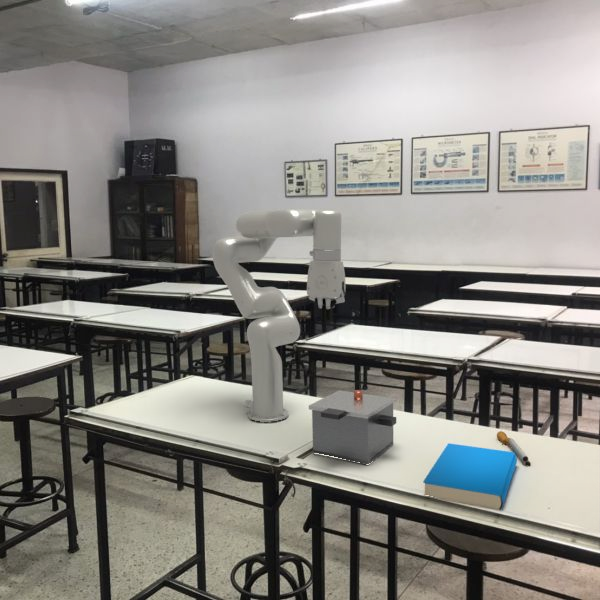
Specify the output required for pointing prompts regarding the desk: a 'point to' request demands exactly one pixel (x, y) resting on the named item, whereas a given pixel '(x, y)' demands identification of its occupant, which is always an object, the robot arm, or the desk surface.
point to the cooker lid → (350, 405)
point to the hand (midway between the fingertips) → (326, 322)
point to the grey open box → (354, 435)
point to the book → (471, 475)
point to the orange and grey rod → (513, 447)
